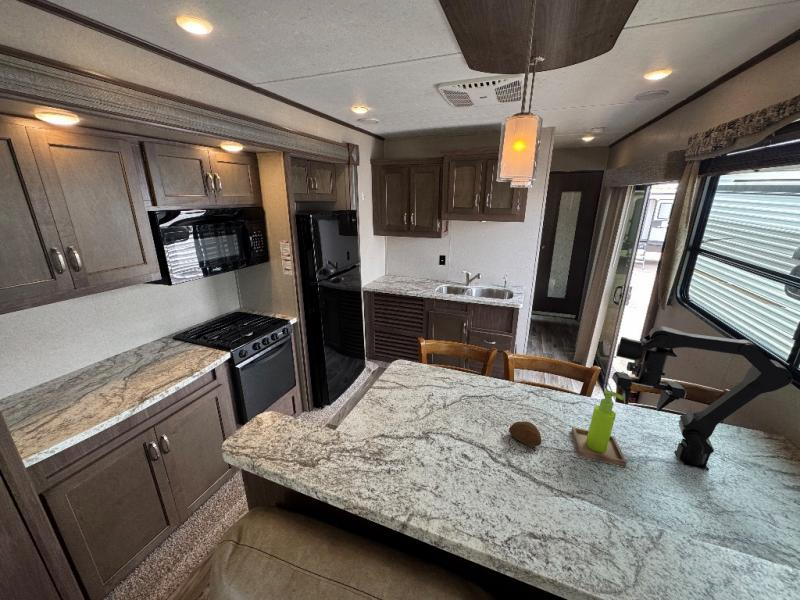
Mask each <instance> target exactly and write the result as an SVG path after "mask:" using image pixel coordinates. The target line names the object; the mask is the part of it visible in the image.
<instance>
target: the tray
mask: <svg viewBox="0 0 800 600" xmlns="http://www.w3.org/2000/svg"><path fill="white" fill-rule="evenodd" d="M588 431H589V429H585V428H582V427H581V428H580V427H575V426H572V429H571V435H572V437H573V438H572V439H573V442H574V445H575V449H576V452H577V456H578V457H582V458H586V459H589V458H590V459H589V460H593V459H594V461H597V460H598V461H597V462H601V461H602V462H601V463H605V462H606V463H605V464H608V463H610V464H609V465H612V464H615V465H614V466H616V465H619V466H618V467H620V466H623V467H622V468H624V467H625V468H626V466H627V463H628V462H627V460H626V458H625V455H624V454H623V451H622V450H621V447H620V445H619V443H618V441H617V440H616V437H615V436H614V435H610V439H609V443H608V446H607V450H606V452H597V451H594V450H592V449H591V448H589V447H588V446H587V444H586V439H587V435H588ZM611 463H612V464H611Z"/></svg>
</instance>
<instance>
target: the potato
mask: <svg viewBox="0 0 800 600" xmlns="http://www.w3.org/2000/svg"><path fill="white" fill-rule="evenodd" d="M508 432H509V435H510V436H512V438H514V439H515V440H517V441H519V442H521V443H522V444H524V445H525V446H527V447H534V448H536V447H539V446H541V444H542V435H541V433H540V431H539V429H538V428H537V427H536V425H534V424H533V423H532V422H530V421H515V422H514V423H512V424H511V425H510V427H509V428H508Z"/></svg>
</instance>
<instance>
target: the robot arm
mask: <svg viewBox="0 0 800 600" xmlns="http://www.w3.org/2000/svg"><path fill="white" fill-rule="evenodd" d="M682 348H687V349H696V350H703V351H710V352H717V353H724V354H730V355H731V354H732V355H739V356H742V357H743V358H745V359H746V360H747V361H748V362H749V363H750V364H751V367H750V368H749V369H748V370H747V372H746V373H745V375H744V378H743V380H742V381H741V382H739V383H738V384H736V385H734V386H733V387H732V388H731V389H730V390H728V391H727V392H726V393H724V394H723V395H722V396H721V397H719V398H717V399H716V400H715V401H714V402H712V403H711V404H709V405H708V406H707V407H705V408H704V409H703V410H701V411H696V412H694V411H693V410H692V409H689V410H687V411H686V413H685V414H682V415H680V416H679V420H678V426H679V430H680V433H681V435H682V437H683V438H682V439H681V442H678V445H677V448H676V450H674V453H675V454H676V456H677V458H679V460H680V462H681V463H682V464H683V465H686V466H688V467H692V468H696V469H700V470H704V469H706V470H705V471H710V468H709V467H708V466H707V465H708V461H709V459H710V456H711V455H712V454H713V453H714V452H715V449H714V447H713V444H712V443H711V440H710V437H711V436H712V435H713V433H714V431H715V430H716V428H717V426H718V425H719V424H720V423H722V422H723V421H725V420H726V419H728V418H729V417H731V416H732V415H733V414H735V413H737V411H739V410H741V409H742V408H744V407H745V406H746V405H747V404H749V403H750V402H752V401H754V400H755V399H756V398H758V397H760V396H761V395H764V394H768V393H772V392H773V393H774V392H776V391H778V390H781V389H783V388H785V387H787V386H789V385H790V384H792V382H793V381H794V379H793V378H794V377H793V373H791V371H790V370H788V369H787V368H786V367H785V366H784V365H782V364H781V363H779V362H778V361H777V360H773V359H769V358H768V357H767V356H766V355H765V354H764V353H763V352H762V351H761V350H759V348H758V347H757V346H756V345H755V343H753V342H752V341H750V340H748V339H736V338H727V337H719V336H711V335H704V334H703V335H702V334H696V333H688V332H685V331H681V330H678V329H675V328H673V327H672V328H671V327H669V326H664V325H657V326H655V327H652V328H651V329H650V331H649V332H648V334H646V335H645V336H643V337H641V338H640V339H639V340H635V339H632V338H628V337H624V336H620V340H619V342H618V344H617V348H616V353H615V357H618V358H622V359H627V360H630V361H627V364H626V371H627V372H631V374H632V375H634V376H635V377H634V378H633V377H630V375H629V374H628V373H624V372H619V371H615V372H614V373H613V374H612V377H611V378H612V380H613V382H614V383H615V385H616V386H618V387H619V389H621V390H622V391H621V392H622V396H623V397H625V399H624V400H623V404H624V405H628V402H629V400H630V399H629V398H630V396H631V392H632V388H631V387H632V386H633V385H636V386H641V387H646V388H650V389H654V390H655V389H657V390H660V396H659V398H658V401H657V404H656V407H655V410H656V411H657V412H660V411H661V410H662V409H664V408H665V407H667V406H669V404H671V403H672V402H674V401H677V400H681V399H686V395H687V390H686V389H685V387H684V386H682V385H681V384H680V383H679V382H676V381H675V382H674V381H669V380H665V381H663V383H661V382H662V381H661V380H662V378H663V376H664V377H665V376H666V371H665V369H666V368H665V367H666V364H667V362H668V357H672V358H673V357H674V358H678V355H677V353H676V351H675V350H674V349H682ZM644 351H645V352H644ZM642 357H643V358H642ZM641 359H642V362H639V365H637V363H636V361H640V360H641ZM631 360H632V361H633V362H632V361H631ZM634 361H635V362H634Z"/></svg>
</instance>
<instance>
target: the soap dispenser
mask: <svg viewBox="0 0 800 600" xmlns="http://www.w3.org/2000/svg"><path fill="white" fill-rule="evenodd" d="M603 394H604V395H605V396H604V398H601V399H600V403H599V405H596V406H594V408H593V412H592V415H591V420H590V424H589V428H588V430H589V431H588V435H587V439H586V444H587V446H588V447H589V448H591V449H592V450H594V451H597V452H606V450H607V446H608V443H609V439H610V436H612V431H613V427H614V424H615V420H616V415H617V414H616V412H615V411H613V408H614V405H615V404H614V402H613V400H612V397H614V398H616V399H619V400H620V401H624V399H625V397H623V394H619V393H618V392H615V391H611V390H608V389H605V390H604V391H603Z"/></svg>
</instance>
